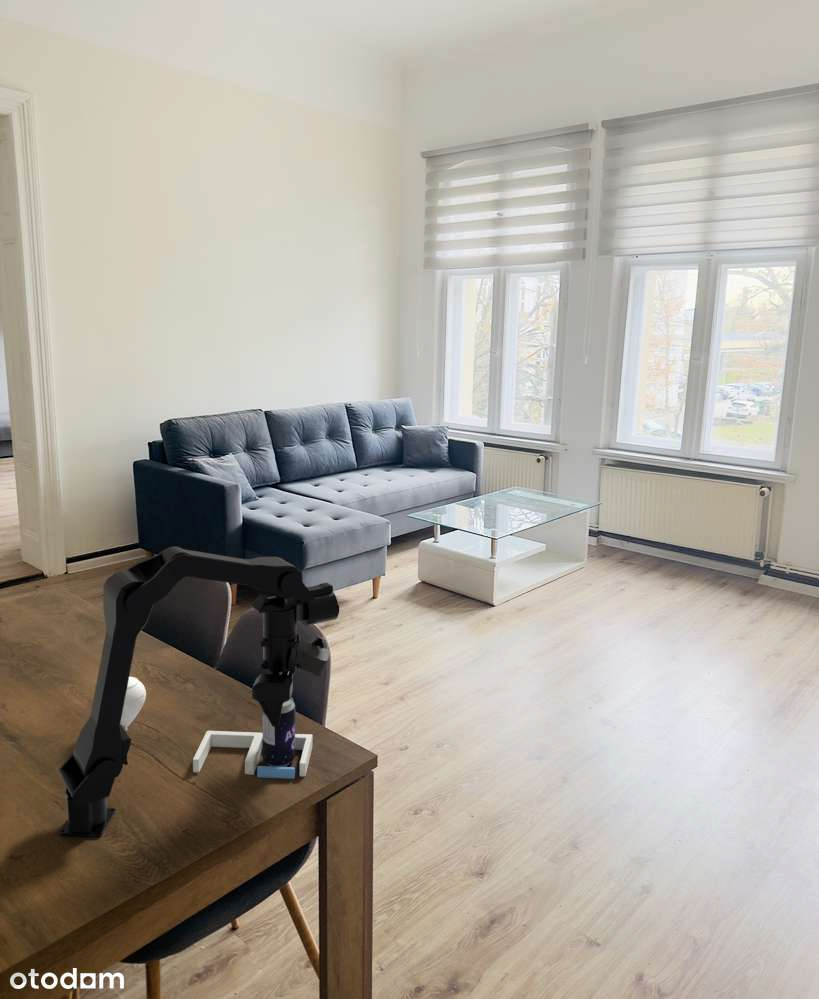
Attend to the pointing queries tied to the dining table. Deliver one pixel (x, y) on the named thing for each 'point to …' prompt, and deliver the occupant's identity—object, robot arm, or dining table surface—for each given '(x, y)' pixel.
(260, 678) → the robot arm
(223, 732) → the white open frame
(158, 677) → the dining table surface
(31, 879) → the dining table surface
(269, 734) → the beverage can
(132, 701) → the spinning top
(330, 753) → the dining table surface
